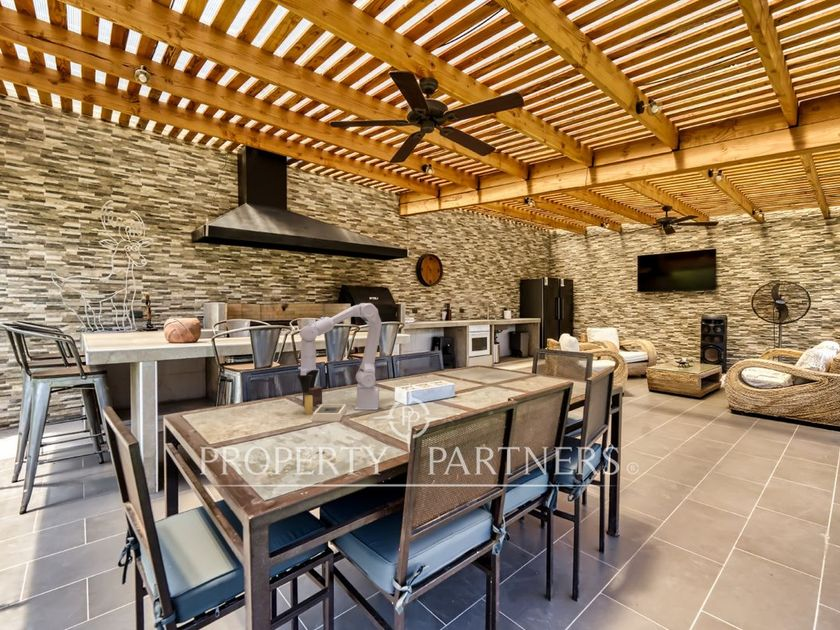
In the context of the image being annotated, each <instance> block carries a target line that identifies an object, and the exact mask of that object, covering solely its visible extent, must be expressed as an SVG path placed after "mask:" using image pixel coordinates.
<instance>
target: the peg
mask: <svg viewBox="0 0 840 630" xmlns="http://www.w3.org/2000/svg"><path fill="white" fill-rule="evenodd" d="M313 409H314V406H313V396H312V395H307V396H305V405H304V415H313V413H314V410H313Z"/></svg>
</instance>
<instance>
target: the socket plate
mask: <svg viewBox="0 0 840 630" xmlns="http://www.w3.org/2000/svg"><path fill="white" fill-rule="evenodd" d="M341 408H342V407H322V408H321V409H320V410H319V412H318V413H338V412H339V411H340V409H341Z"/></svg>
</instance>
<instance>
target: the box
mask: <svg viewBox="0 0 840 630" xmlns="http://www.w3.org/2000/svg"><path fill="white" fill-rule="evenodd" d="M307 395H312V396H313V407H315V406H317V405H321V404H323V387H322V386H318V385H317V386H316V385H314V388H309V392H308V393H306V392H303V391H302V405H304V406H305V396H307Z"/></svg>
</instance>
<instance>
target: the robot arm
mask: <svg viewBox="0 0 840 630" xmlns="http://www.w3.org/2000/svg"><path fill="white" fill-rule="evenodd" d="M379 314H380V313H379V309H378V308H377V307H376V306H375V305H374V304H373V303H371V302H367V303H366V302H361V303H359V304H355V305H353V306H351V307H348V308H346V309H345V310H343V311H340V312H339V313H337V314H336V315H334V316H332V317H329V316H325V317H324V316H322V317H319V319H318V320H317V321H314V322H310V323H309V325H305V326H303V327H302V328H301V329H300V331H299V336H300V338H301V339H300V343H301V344H300V366H298V367H297V369H298V370H300V373H298V374H297V379H298V380H299V382H300V386H301V390H302V393H303V392H306V393H308V392H309V388H314V386H316V379H317V376H318V375H319V372H320V370H319V369H317V356H316V355H317V346H316V338H317V337H321V336H322V335H324V334H325V333H328V332H330V331H332V330H333V329H334V327H335V326H336V325H337V324H339V323H341V322H343V321H345V320H348V319H350V318H352V317H355V318H358V317H360V318H361V319H362V320H364V322H365V323H366V324H367V326H368V330H367V335H366V341H365V346H364V352H363V356H362V360H361V364H360V365H359V367H358V368H359V369H358V371H356V374H355V380H356V382H357V385H356V406H355V408H354V410H356V411H357V410H360V411H365V410H366V411H368V410H369V411H370V410H373V411H375V410H376V411H377V410H379V407H380V403H381V402H380V401H381V400H380V387H379V386H375V383H376V379H377V378H376V375H375V373H376V368H375V364H376V363H375V362H376V357H377V352H378V347H379V346H378V345H379V339H380V335H381V330H382V326H383V324H382V319H381V317H380V315H379Z"/></svg>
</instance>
